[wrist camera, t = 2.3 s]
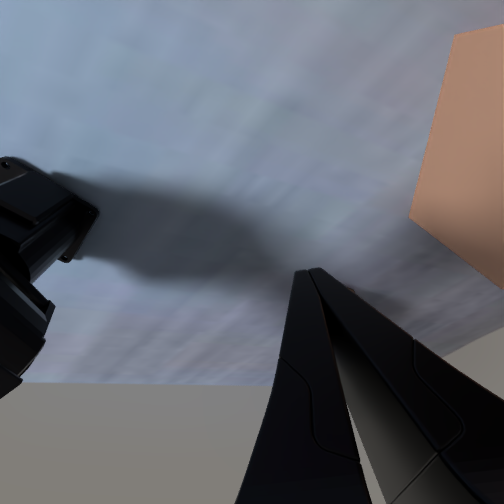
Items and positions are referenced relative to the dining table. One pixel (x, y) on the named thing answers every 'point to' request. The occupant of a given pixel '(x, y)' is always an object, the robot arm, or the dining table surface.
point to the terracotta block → (468, 156)
